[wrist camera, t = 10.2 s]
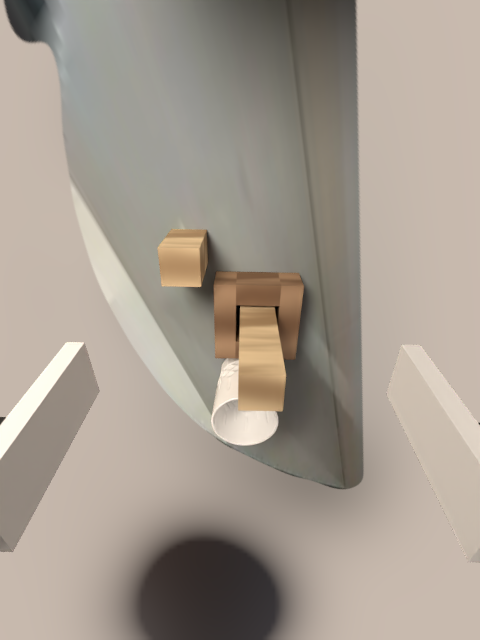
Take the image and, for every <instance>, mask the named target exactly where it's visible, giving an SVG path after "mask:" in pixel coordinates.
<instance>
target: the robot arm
mask: <svg viewBox="0 0 480 640" xmlns="http://www.w3.org/2000/svg"><path fill="white" fill-rule="evenodd" d="M98 393H99V387H98V384H97V381H96V378H95V375H94V371H93V368H92V365H91V362H90V359H89V355H88V352H87V349H86V346H85V343H82V342H80V343H78V342H66V344H65V345H64V346H63V347H62V348H61V350H60V351H59V352H58V354H57V355H56V356H55V357H54V359H53V360H52V361H51V362H50V364H49V365H48V366H47V367H46V369H45V370H44V371H43V372H42V374H41V375H40V376H39V377H38V379H37V380H36V381H35V382H34V384H33V385H32V386H31V387H30V389H29V390H28V391H27V392H26V394H25V395H24V396H23V397H22V399H21V400H20V401H19V402H18V404H17V405H16V406H15V407H14V409H13V410H12V411H11V412H10V414H9V415H8V416H7V417H0V551H1V552H13V551H14V549H15V547H16V545H17V543H18V541H19V540H20V538H21V536H22V534H23V532H24V530H25V529H26V527H27V525H28V523H29V521H30V519H31V517H32V515H33V514H34V512H35V510H36V508H37V506H38V504H39V502H40V501H41V499H42V497H43V495H44V493H45V491H46V490H47V488H48V486H49V484H50V482H51V480H52V478H53V477H54V475H55V473H56V471H57V469H58V467H59V465H60V464H61V462H62V460H63V458H64V456H65V454H66V452H67V451H68V449H69V447H70V445H71V443H72V441H73V439H74V438H75V435H76V434H77V432H78V430H79V428H80V426H81V425H82V423H83V421H84V419H85V417H86V415H87V414H88V412H89V410H90V408H91V406H92V404H93V402H94V400H95V399H96V397H97V395H98ZM386 394H387V397H388V399H389V401H390V403H391V405H392V407H393V409H394V411H395V413H396V415H397V417H398V419H399V421H400V423H401V425H402V427H403V429H404V431H405V433H406V436H407V438H408V439H409V441H410V444H411V445H412V448H413V450H414V452H415V454H416V456H417V458H418V460H419V462H420V464H421V466H422V468H423V470H424V472H425V474H426V476H427V478H428V481H429V483H430V485H431V486H432V489H433V491H434V493H435V495H436V497H437V499H438V501H439V503H440V505H441V507H442V509H443V511H444V513H445V515H446V517H447V519H448V521H449V523H450V525H451V527H452V530H453V532H454V534H455V535H456V538H457V540H458V542H459V544H460V546H461V548H462V550H463V552H464V554H465V556H466V558H467V560H468V562H480V423H478V422H477V421H476V420H475V418H474V417H473V416H472V414H471V413H470V411H469V410H468V409H467V408H466V406H465V405H464V403H463V402H462V401H461V399H460V398H459V397H458V395H457V394H456V393H455V391H454V390H453V389H452V387H451V386H450V384H449V383H448V382H447V380H446V379H445V378H444V377H443V375H442V374H441V372H440V371H439V370H438V368H437V367H436V366H435V364H434V363H433V361H432V360H431V359H430V357H429V356H428V355H427V353H426V352H425V351H424V349H423V348H422V347H421V345H401V348H400V352H399V355H398V358H397V361H396V364H395V368H394V371H393V374H392V377H391V381H390V384H389V387H388V390H387V393H386Z"/></svg>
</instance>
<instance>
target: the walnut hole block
mask: <svg viewBox="0 0 480 640" xmlns="http://www.w3.org/2000/svg"><path fill="white" fill-rule="evenodd" d="M303 290H304V285H303V283H302V280H301V277H300V275H299V273H271V272H219V271H216V275H215V280H214V320H215V358H235V359H239V334H240V325H236V309H237V305H250V306H276V308H275V313H276V319H277V325H278V331H279V337H280V342H281V348H282V354H283V359H284V360H295V357H296V348H297V340H298V332H299V324H300V315H301V307H302V299H303Z"/></svg>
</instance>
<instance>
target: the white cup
mask: <svg viewBox="0 0 480 640" xmlns="http://www.w3.org/2000/svg"><path fill="white" fill-rule="evenodd" d="M238 372H239V359H235V358H226V360H225V361H224V362H223V363H222V369H221V374H220V378H219V380H218V385H217V390H216V395H215V401H214V407H213V412H212V418H211V424H212V428H213V430H214V431H215V433H216V434H217V435H218V436H219V437H220V438H221V439H223V440H225V441H227V442H229V443H232V444H236V445H254V444H258V443H261V442H263V441H265V440H267V439H269V438H270V437H271V436H272V435H273V434H274V433H275V431H276V429H277V427H278V414H277V411H238Z"/></svg>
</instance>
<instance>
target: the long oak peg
mask: <svg viewBox="0 0 480 640" xmlns="http://www.w3.org/2000/svg"><path fill="white" fill-rule="evenodd" d="M285 383H286V372H285V366H284V360H283V354H282V348H281V342H280V337H279V331H278V325H277V319H276V313H275V307H274V306H250V305H240V334H239V372H238V411H283V403H284V393H285Z"/></svg>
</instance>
